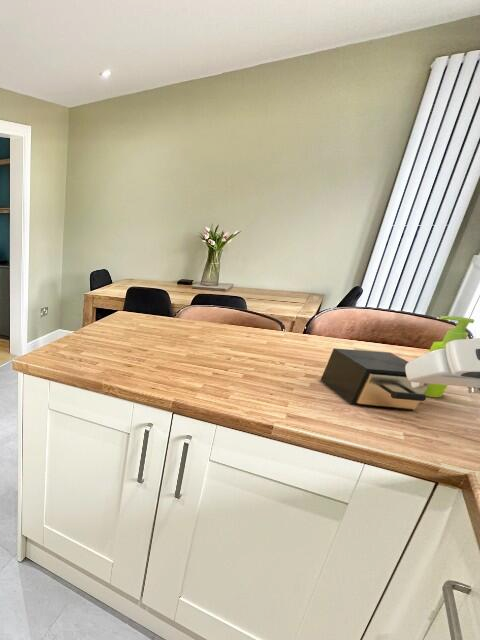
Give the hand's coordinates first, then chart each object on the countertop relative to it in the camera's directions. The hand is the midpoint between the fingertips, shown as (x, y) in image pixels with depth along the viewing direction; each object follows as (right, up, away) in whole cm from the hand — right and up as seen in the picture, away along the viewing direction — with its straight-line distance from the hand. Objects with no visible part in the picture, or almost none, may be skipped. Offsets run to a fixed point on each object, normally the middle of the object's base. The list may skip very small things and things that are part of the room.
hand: (443, 387), depth 81 cm
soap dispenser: (+22, -2, +23) cm, 32 cm away
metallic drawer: (+4, -3, +18) cm, 18 cm away
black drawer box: (+5, -2, +22) cm, 22 cm away
